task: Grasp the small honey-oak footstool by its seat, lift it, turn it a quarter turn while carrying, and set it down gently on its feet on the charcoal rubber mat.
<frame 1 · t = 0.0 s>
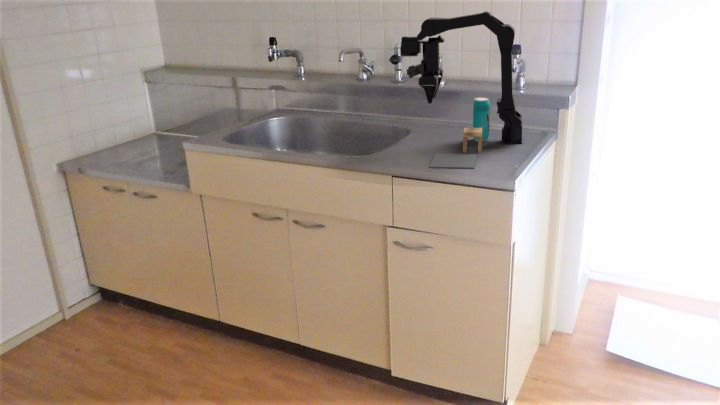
hand: (431, 100, 213), 15 cm above the table, fingers open, 9 cm apart
mat: (453, 161, 195), on the table
stool: (472, 149, 205), on the table
beverage can: (480, 140, 215), on the table
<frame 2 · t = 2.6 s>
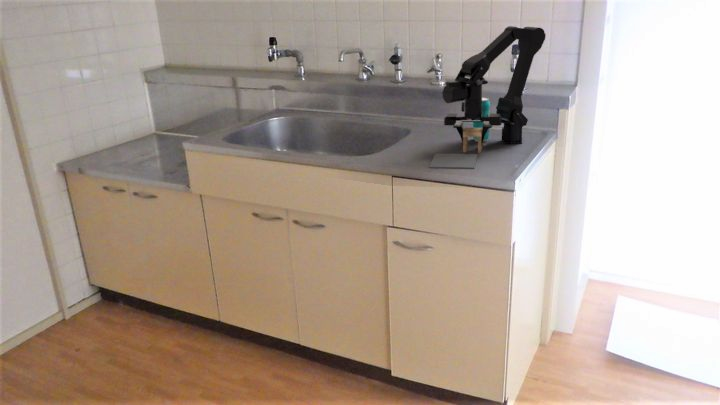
hand: (472, 144, 204), 2 cm above the table, fingers closed on stool, 5 cm apart
stool: (472, 149, 205), on the table, touching gripper
everything else where it was.
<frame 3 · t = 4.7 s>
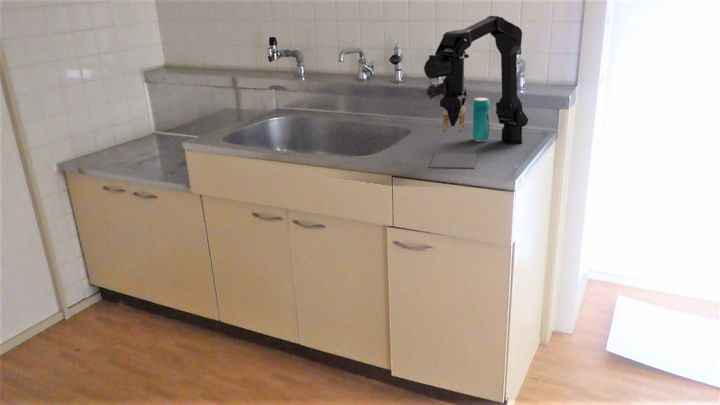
hand: (454, 123, 190), 12 cm above the table, fingers closed on stool, 5 cm apart
stool: (453, 129, 191), point 10 cm above the table, touching gripper
everything else where it was.
when the fingers open (3 cm above the table, at t = 6.8 s): stool stays where it is, resting on mat.
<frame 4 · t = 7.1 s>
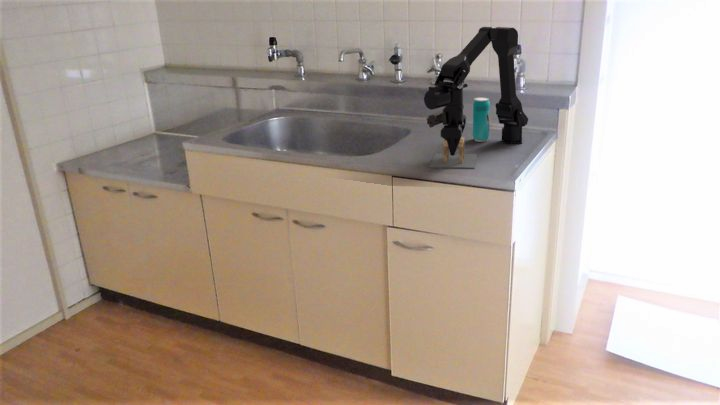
hand: (453, 151, 193), 3 cm above the table, fingers open, 8 cm apart
stool: (453, 160, 194), resting on mat
everything else where it was.
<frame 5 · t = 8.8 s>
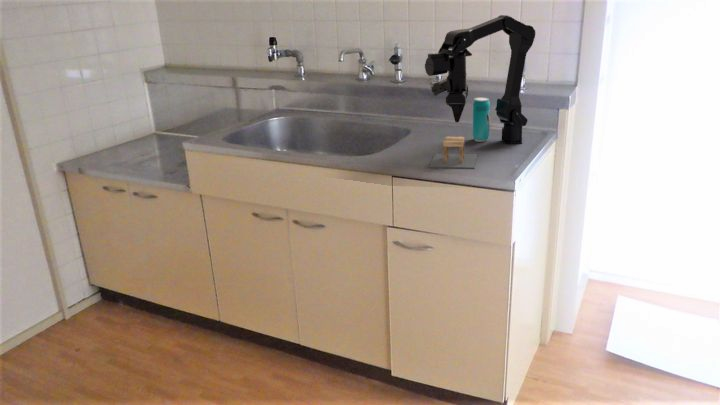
hand: (458, 118, 200), 12 cm above the table, fingers open, 9 cm apart
nothing on the table moved.
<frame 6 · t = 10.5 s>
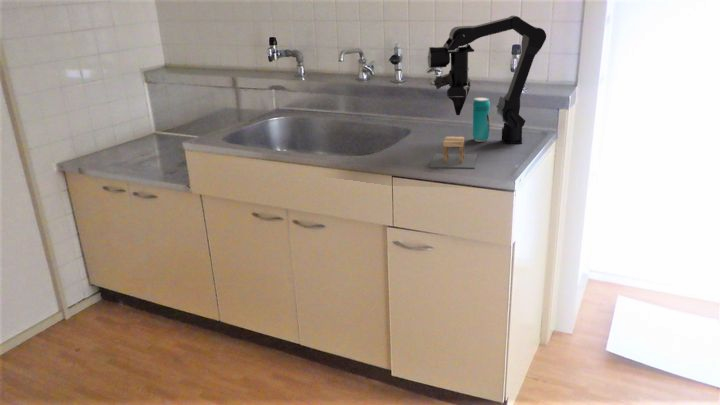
hand: (459, 111, 206), 12 cm above the table, fingers open, 9 cm apart
nothing on the table moved.
at the end: stool inside the target area on the mat (0.0 cm from its centre), point 0.4 cm above the mat's base; stool tilted 0°; the gripper is holding nothing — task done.
